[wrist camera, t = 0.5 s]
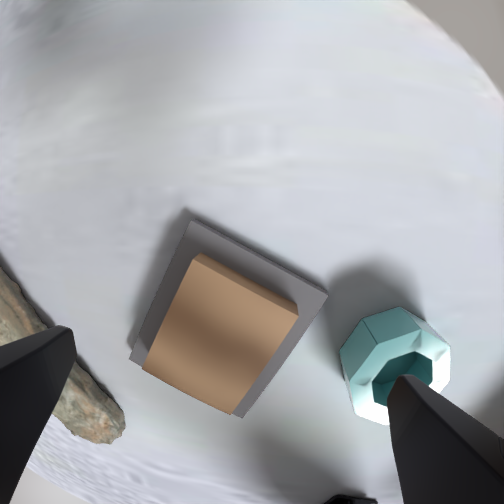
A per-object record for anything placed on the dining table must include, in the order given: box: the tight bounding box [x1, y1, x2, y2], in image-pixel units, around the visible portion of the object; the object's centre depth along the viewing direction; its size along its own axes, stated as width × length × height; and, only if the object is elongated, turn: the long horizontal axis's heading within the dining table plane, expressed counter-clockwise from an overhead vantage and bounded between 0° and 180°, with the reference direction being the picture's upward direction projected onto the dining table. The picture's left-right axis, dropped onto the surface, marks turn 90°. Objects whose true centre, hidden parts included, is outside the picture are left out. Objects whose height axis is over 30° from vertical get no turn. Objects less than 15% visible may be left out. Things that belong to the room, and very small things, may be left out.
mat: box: [129, 219, 329, 418], centre depth 21 cm, size 12×10×1 cm
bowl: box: [339, 307, 450, 425], centre depth 19 cm, size 7×7×4 cm
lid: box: [142, 253, 299, 415], centre depth 20 cm, size 9×7×2 cm
